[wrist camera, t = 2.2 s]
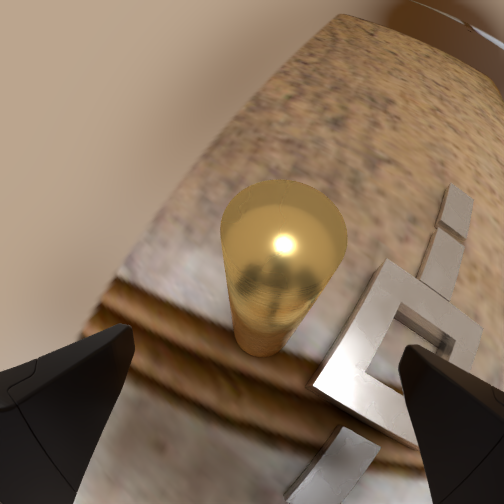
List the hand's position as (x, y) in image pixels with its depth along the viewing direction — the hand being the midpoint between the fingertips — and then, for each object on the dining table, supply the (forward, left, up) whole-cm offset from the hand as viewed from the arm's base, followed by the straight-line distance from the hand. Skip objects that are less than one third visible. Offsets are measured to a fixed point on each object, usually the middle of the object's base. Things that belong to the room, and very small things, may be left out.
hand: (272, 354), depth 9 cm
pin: (+3, +2, -10) cm, 11 cm away
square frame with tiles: (+6, -8, -10) cm, 14 cm away
